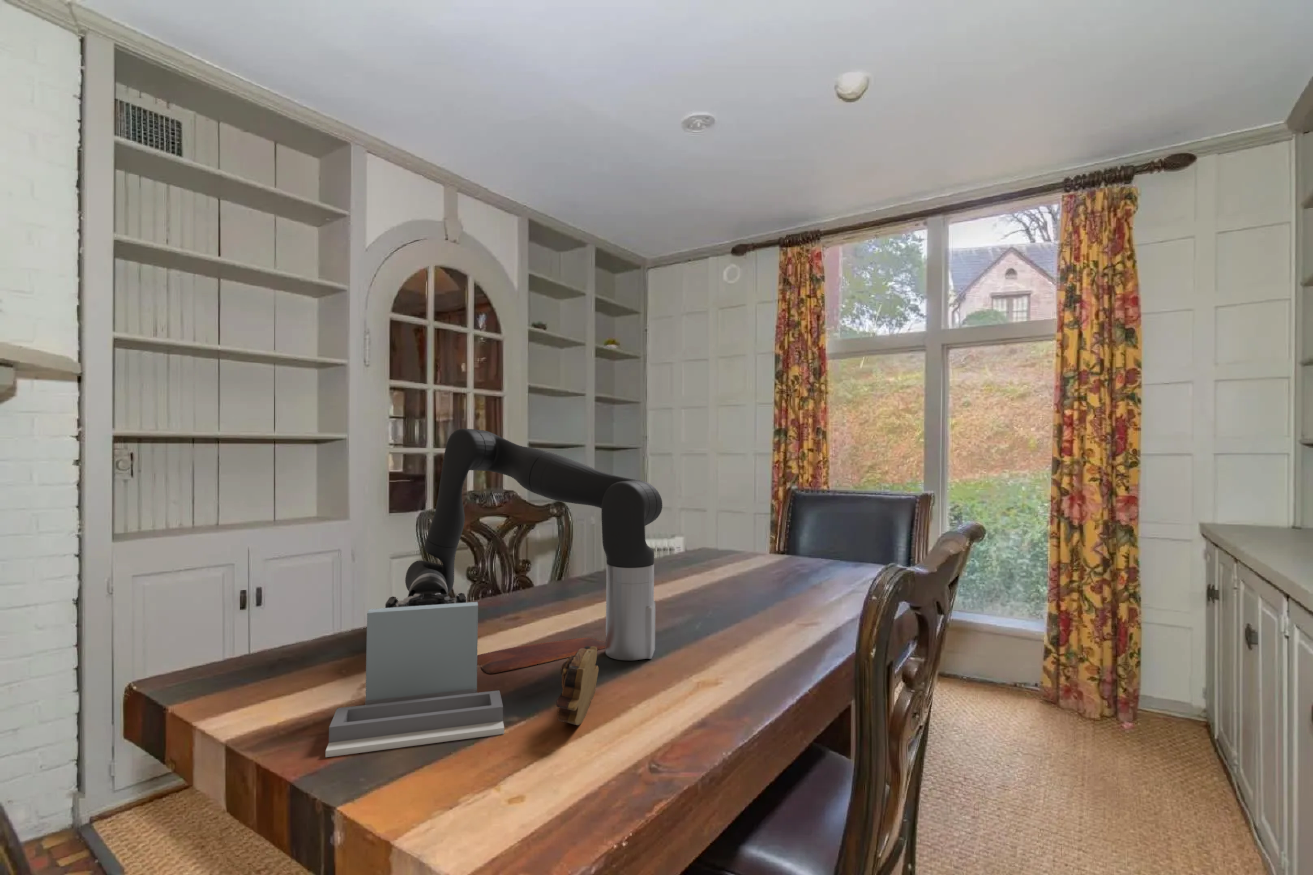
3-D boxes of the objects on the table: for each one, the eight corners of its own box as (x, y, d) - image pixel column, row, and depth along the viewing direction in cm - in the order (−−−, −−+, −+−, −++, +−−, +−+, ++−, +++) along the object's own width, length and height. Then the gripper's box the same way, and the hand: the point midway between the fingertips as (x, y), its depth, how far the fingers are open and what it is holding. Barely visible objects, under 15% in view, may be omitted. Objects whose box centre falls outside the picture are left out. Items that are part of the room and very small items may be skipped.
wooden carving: (571, 696, 100) (571, 632, 100) (599, 696, 99) (600, 633, 100) (550, 744, 83) (551, 668, 83) (584, 744, 83) (585, 668, 83)
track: (497, 703, 96) (498, 684, 97) (504, 733, 86) (504, 713, 86) (339, 721, 89) (339, 701, 90) (325, 757, 79) (325, 734, 79)
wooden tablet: (490, 679, 108) (490, 669, 108) (468, 663, 116) (468, 654, 116) (617, 650, 125) (617, 641, 125) (591, 638, 133) (591, 630, 133)
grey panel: (474, 680, 106) (475, 594, 107) (476, 698, 98) (478, 605, 99) (371, 691, 101) (373, 600, 101) (364, 711, 93) (366, 613, 94)
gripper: (390, 577, 126) (383, 596, 110) (465, 574, 130) (467, 591, 115) (389, 615, 125) (382, 639, 110) (464, 610, 130) (466, 632, 114)
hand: (425, 614), depth 112 cm, fingers open, 8 cm apart
